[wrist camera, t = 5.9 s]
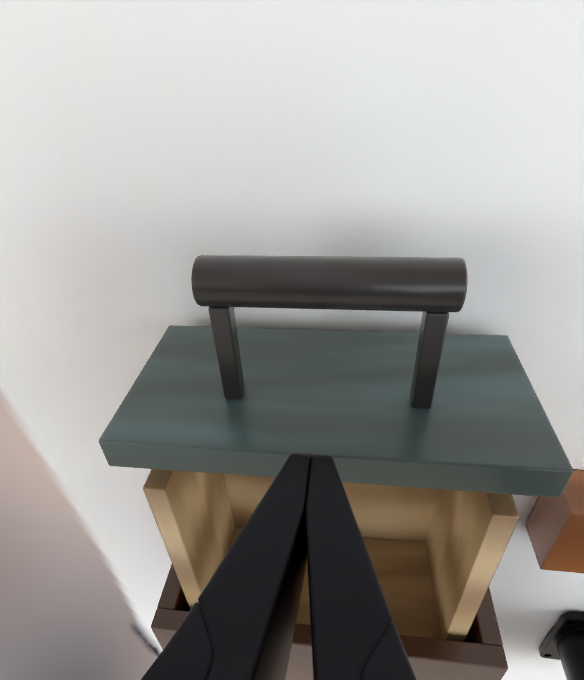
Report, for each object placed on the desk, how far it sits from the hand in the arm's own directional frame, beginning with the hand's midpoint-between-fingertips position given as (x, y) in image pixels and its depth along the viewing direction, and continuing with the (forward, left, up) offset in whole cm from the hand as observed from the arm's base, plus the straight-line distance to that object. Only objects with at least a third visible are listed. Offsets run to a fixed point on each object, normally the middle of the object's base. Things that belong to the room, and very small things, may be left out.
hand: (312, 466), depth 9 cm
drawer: (-7, 0, -9) cm, 11 cm away
